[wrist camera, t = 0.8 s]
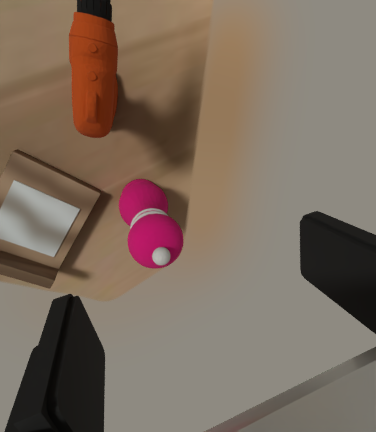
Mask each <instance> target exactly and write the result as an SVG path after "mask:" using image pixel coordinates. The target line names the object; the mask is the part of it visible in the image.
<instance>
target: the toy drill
mask: <svg viewBox="0 0 376 432" xmlns="http://www.w3.org/2000/svg"><path fill="white" fill-rule="evenodd" d="M111 21H112V6H111V4H110V0H77V12H74V21H73V23H72V26H71V30H70V33H69V59H70V63H71V66H72V106H73V120H74V125H75V127H76V129H77V130H78V132H80V133H81V134H83V135H85V136H88V137H92V138H101V137H104V136H106V135H107V134H108V133H109V132H110V130H111V128H112V124H113V119H114V116H115V113H116V107H117V98H118V84H117V79H116V72H117V56H118V46H117V41H116V36H115V32H114V24H113V23H112V22H111Z"/></svg>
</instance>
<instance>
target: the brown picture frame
mask: <svg viewBox="0 0 376 432" xmlns="http://www.w3.org/2000/svg"><path fill="white" fill-rule="evenodd" d="M100 193H101V190H99V189H97V188H95V187H93V186H91V185H89V184H87V183H85V182H83V181H80V180H78V179H76V178H74V177H72V176H70V175H68V174H66V173H64V172H62V171H60V170H58V169H56V168H54V167H52V166H50V165H48V164H46V163H44V162H42V161H40V160H38V159H36V158H34V157H32V156H30V155H28V154H26V153H24V152H21V151H19V150H15V151H13V152H12V154H11V156H10V158H9V160H8V162H7V165H6V167H5V169H4V171H3V173H2V175H1V178H0V274H1V275H5V276H8V277H12V278H15V279H19V280H22V281H25V282H29V283H32V284H36V285H39V286H43V287H46V288H51V286H52V284H53V283H54V281H55V278H56V275H57V272H58V269H59V267H60V266H61V264H62V262H63V260H64V258H65V257H66V255H67V253H68V251H69V249H70V248H71V246H72V244H73V242H74V240H75V239H76V237H77V235H78V233H79V231H80V230H81V228H82V226H83V224H84V222H85V221H86V219H87V217H88V215H89V213H90V212H91V210H92V208H93V206H94V204H95V203H96V201H97V199H98V197H99V195H100Z"/></svg>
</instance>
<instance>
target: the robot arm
mask: <svg viewBox="0 0 376 432" xmlns="http://www.w3.org/2000/svg"><path fill="white" fill-rule="evenodd" d="M300 264H301V266H300V267H301V274H302V276H303V277H304V278H305V279H306V280H307V281H309V282H310V283H311V284H313V285H314V286H315V287H316V288H318V289H319V290H320V291H322V292H323V293H324V294H325V295H327V296H328V297H329V298H330V299H332V300H333V301H334V302H335V303H337V304H338V305H339V306H341V307H342V308H343V309H344V310H346V311H347V312H348V313H349V314H351V315H352V316H353V317H355V318H356V319H357V320H358V321H360V322H361V323H362V324H364V325H365V326H366V327H367V328H369V329H370V330H371V331H373V332H374V333H375V334H376V235H374V234H372V233H369V232H367V231H365V230H362V229H360V228H357V227H355V226H353V225H350V224H348V223H345V222H343V221H340V220H338V219H336V218H333V217H331V216H328V215H326V214H324V213H321V212H318V211H316V212H312V213H309V214H306V215H304V216H303V218H302V220H301V221H300ZM104 386H105V353H104V349H103V346H102V344H101V342H100V340H99V338H98V336H97V333H96V331H95V329H94V327H93V325H92V323H91V321H90V319H89V317H88V314H87V312H86V310H85V308H84V306H83V304H82V302H81V300H80V298H79V296H75V297H73V295H72V294H68V295H65V296H62V297H60V298H56V299H54V300H53V301H52V304H51V307H50V310H49V314H48V316H47V320H46V323H45V326H44V329H43V332H42V335H41V338H40V341H39V345H38V346H36V347H35V348H34V349H33V351H32V353H31V355H30V358H29V361H28V364H27V367H26V370H25V373H24V376H23V379H22V382H21V385H20V388H19V391H18V394H17V396H16V399H15V403H14V406H13V408H12V411H11V414H10V417H9V420H8V423H7V426H6V429H5V432H104ZM205 432H376V347H375V348H373V349H370V350H368V351H366V352H364V353H362V354H360V355H358V356H356V357H354V358H352V359H350V360H348V361H346V362H344V363H342V364H340V365H338V366H336V367H334V368H331V369H330V370H327V371H325V372H323V373H321V374H319V375H317V376H315V377H313V378H311V379H309V380H307V381H305V382H303V383H301V384H299V385H297V386H295V387H293V388H291V389H289V390H287V391H285V392H283V393H281V394H279V395H277V396H275V397H273V398H271V399H269V400H267V401H265V402H263V403H261V404H259V405H257V406H255V407H253V408H251V409H249V410H247V411H245V412H243V413H241V414H239V415H237V416H235V417H233V418H231V419H229V420H227V421H225V422H223V423H221V424H219V425H217V426H215V427H213V428H211V429H209V430H207V431H205Z"/></svg>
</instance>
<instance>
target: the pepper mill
mask: <svg viewBox="0 0 376 432" xmlns="http://www.w3.org/2000/svg"><path fill="white" fill-rule="evenodd" d="M119 210H120V214H121V216H122V218H123V220H124V221H125V222H126V223H127V224H128V225H129V226H130V232H129V235H128V247H129V251H130V253H131V255H132V257H133V258H134V259H135V260H136V261H137V262H138V263H139V264H141V265H142V266H145V267H148V268H162V267H166V266H168V265H169V264H171V263H172V262H174V261H175V260H176V259H177V258H178V256H179V255H180V253H181V250H182V247H183V234H182V231H181V228H180V226H179V225H178V224H177V222H176V221H175V220H174V219H172V218H171V217H169V216H168V215H167V211H168V202H167V198H166V196H165V194H164V192H163V191H162V190H161V189H160V188H159V187H158V186H156V185H155V184H153V183H152V182H151V181H149V180H145V179H136V180H133V181H131V182H130V183H128V184H127V185H126V186H125V188H124V189H123V192H122V195H121V197H120V200H119Z"/></svg>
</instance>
